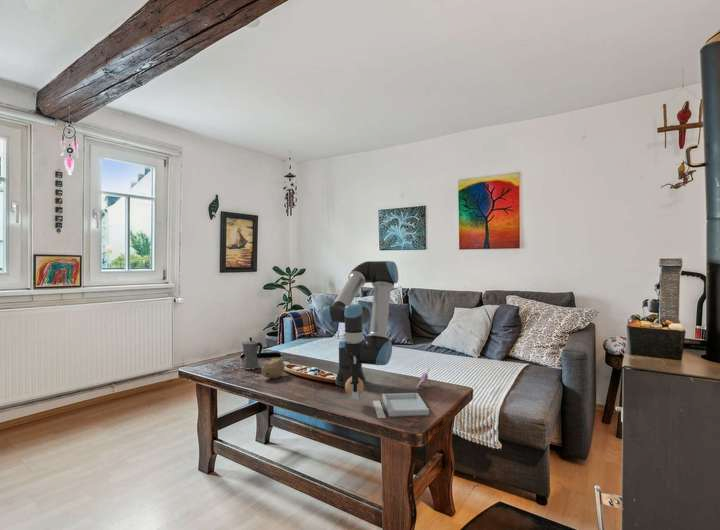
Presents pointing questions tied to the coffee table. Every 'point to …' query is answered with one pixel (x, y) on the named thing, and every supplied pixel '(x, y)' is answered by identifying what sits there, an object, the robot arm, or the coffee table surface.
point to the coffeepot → (251, 353)
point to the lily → (424, 378)
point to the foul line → (379, 409)
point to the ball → (349, 386)
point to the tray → (404, 405)
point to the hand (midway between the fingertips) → (354, 395)
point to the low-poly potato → (273, 368)
